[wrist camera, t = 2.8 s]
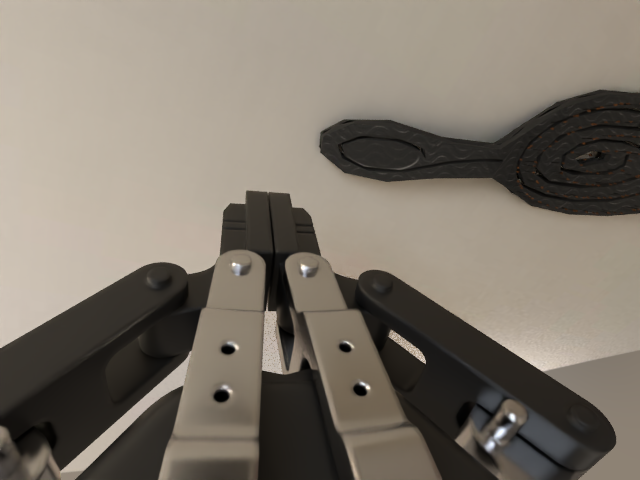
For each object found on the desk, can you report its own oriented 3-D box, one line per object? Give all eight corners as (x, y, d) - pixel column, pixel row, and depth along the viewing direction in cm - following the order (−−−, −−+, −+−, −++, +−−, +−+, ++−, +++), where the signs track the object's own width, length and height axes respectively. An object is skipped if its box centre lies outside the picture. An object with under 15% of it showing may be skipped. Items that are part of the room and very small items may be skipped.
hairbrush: (336, 76, 18) (779, 119, 22) (326, 59, 21) (717, 99, 24) (316, 226, 23) (681, 240, 26) (311, 194, 25) (639, 211, 29)
